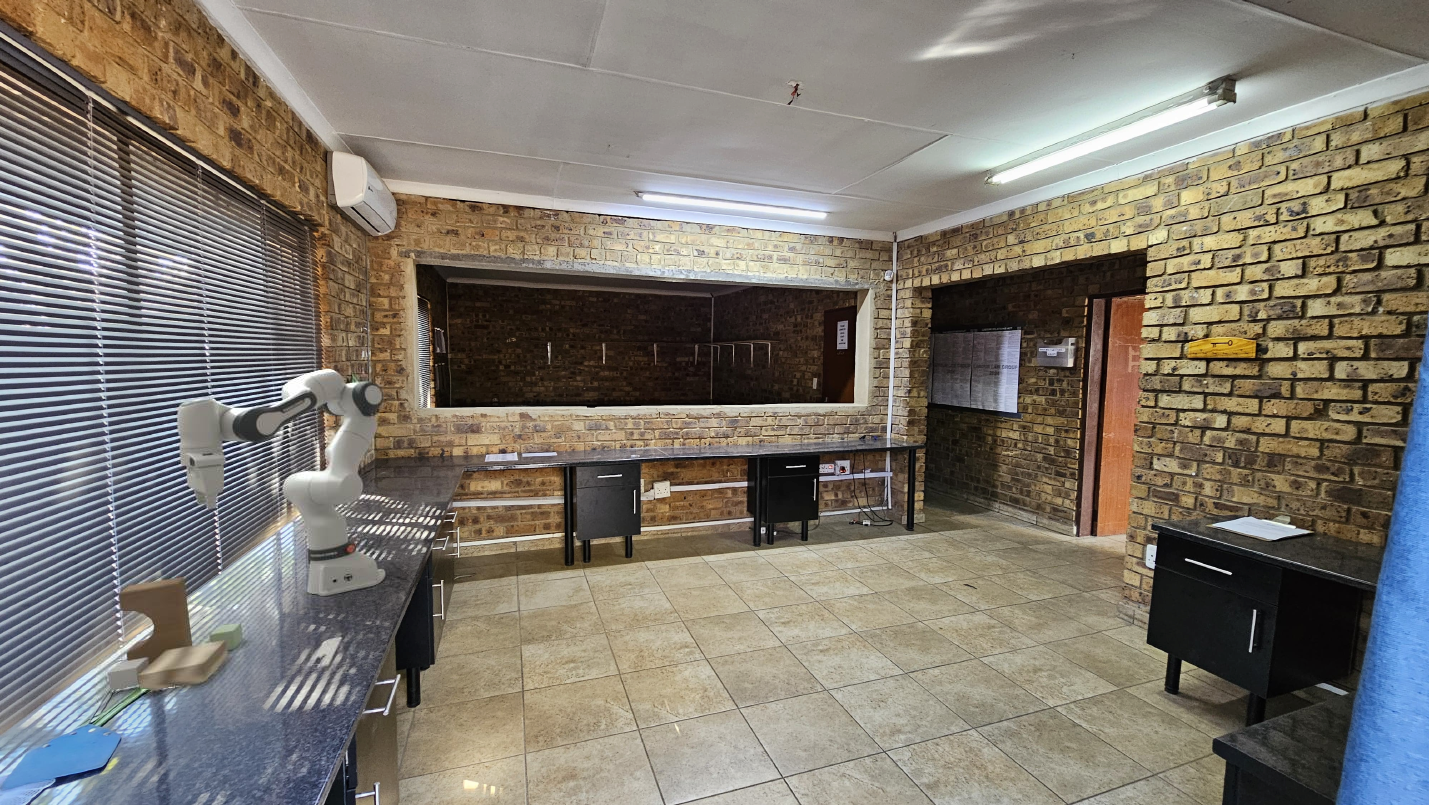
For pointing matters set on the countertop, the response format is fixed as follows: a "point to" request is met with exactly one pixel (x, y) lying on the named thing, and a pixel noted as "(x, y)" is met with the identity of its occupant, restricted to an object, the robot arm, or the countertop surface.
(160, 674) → the pale maple block
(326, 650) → the white plastic strip tool
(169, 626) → the decorative block
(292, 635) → the countertop surface
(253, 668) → the countertop surface
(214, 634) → the sage green cube
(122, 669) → the grey plastic cube
